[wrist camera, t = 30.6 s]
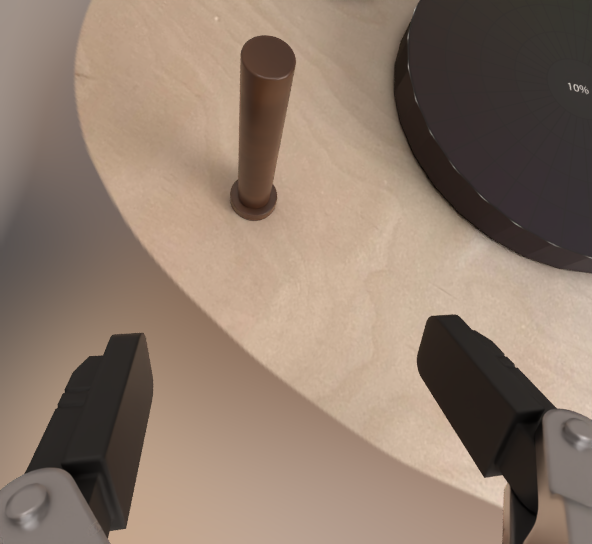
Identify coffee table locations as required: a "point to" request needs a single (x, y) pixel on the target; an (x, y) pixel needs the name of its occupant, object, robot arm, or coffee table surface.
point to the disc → (505, 118)
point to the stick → (261, 123)
